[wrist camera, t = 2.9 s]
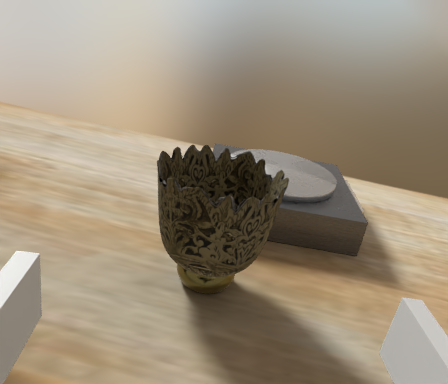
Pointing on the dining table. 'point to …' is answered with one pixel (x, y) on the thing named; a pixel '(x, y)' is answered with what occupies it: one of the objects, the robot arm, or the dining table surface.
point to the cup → (215, 213)
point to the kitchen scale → (311, 203)
